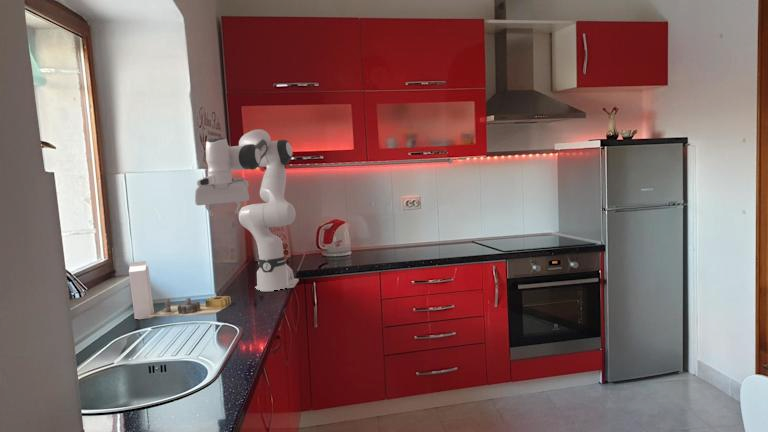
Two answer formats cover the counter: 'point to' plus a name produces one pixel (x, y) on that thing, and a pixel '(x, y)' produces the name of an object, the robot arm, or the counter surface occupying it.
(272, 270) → the robot arm
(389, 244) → the counter surface
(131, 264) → the milk
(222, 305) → the toothed rectangular frame
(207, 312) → the gear board
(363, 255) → the counter surface
